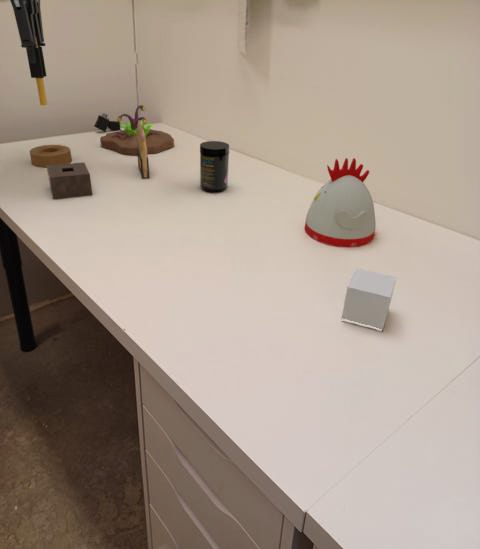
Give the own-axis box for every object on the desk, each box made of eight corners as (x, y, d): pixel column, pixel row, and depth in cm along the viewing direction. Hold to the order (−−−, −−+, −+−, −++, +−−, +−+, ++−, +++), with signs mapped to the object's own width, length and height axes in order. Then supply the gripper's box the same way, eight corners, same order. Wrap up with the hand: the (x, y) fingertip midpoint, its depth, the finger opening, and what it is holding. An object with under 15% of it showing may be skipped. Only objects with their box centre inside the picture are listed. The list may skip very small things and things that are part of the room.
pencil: (39, 105, 117) (27, 37, 109) (41, 103, 118) (30, 36, 110) (46, 105, 117) (34, 37, 109) (48, 104, 118) (37, 37, 110)
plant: (186, 145, 143) (185, 107, 137) (133, 159, 130) (130, 117, 125) (143, 132, 154) (141, 96, 148) (91, 143, 141) (87, 104, 136)
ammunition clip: (149, 178, 118) (146, 129, 112) (142, 178, 117) (138, 129, 111) (145, 164, 127) (142, 119, 121) (138, 165, 126) (135, 119, 120)
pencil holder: (53, 199, 104) (49, 177, 102) (50, 186, 111) (46, 165, 108) (92, 195, 107) (89, 173, 105) (87, 182, 114) (84, 162, 111)
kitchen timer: (298, 216, 101) (306, 147, 94) (361, 216, 103) (374, 148, 95) (313, 247, 90) (323, 170, 82) (383, 246, 91) (400, 171, 83)
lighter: (113, 136, 157) (119, 122, 157) (116, 137, 156) (122, 123, 155) (92, 125, 151) (99, 110, 151) (95, 127, 150) (102, 112, 149)
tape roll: (26, 166, 122) (24, 155, 120) (38, 155, 130) (36, 144, 129) (66, 167, 122) (64, 156, 121) (75, 155, 131) (74, 145, 129)
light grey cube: (388, 310, 73) (396, 277, 70) (382, 332, 68) (390, 297, 65) (349, 300, 75) (356, 267, 71) (340, 321, 70) (347, 286, 67)
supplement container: (225, 194, 111) (226, 150, 105) (197, 192, 111) (197, 148, 106) (230, 184, 117) (231, 142, 111) (203, 182, 117) (203, 140, 112)
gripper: (25, -42, 96) (46, 82, 108) (46, -38, 108) (62, 72, 121) (-13, -43, 95) (12, 81, 108) (13, -40, 108) (32, 71, 120)
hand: (39, 76), depth 114 cm, fingers closed on pencil, 1 cm apart
